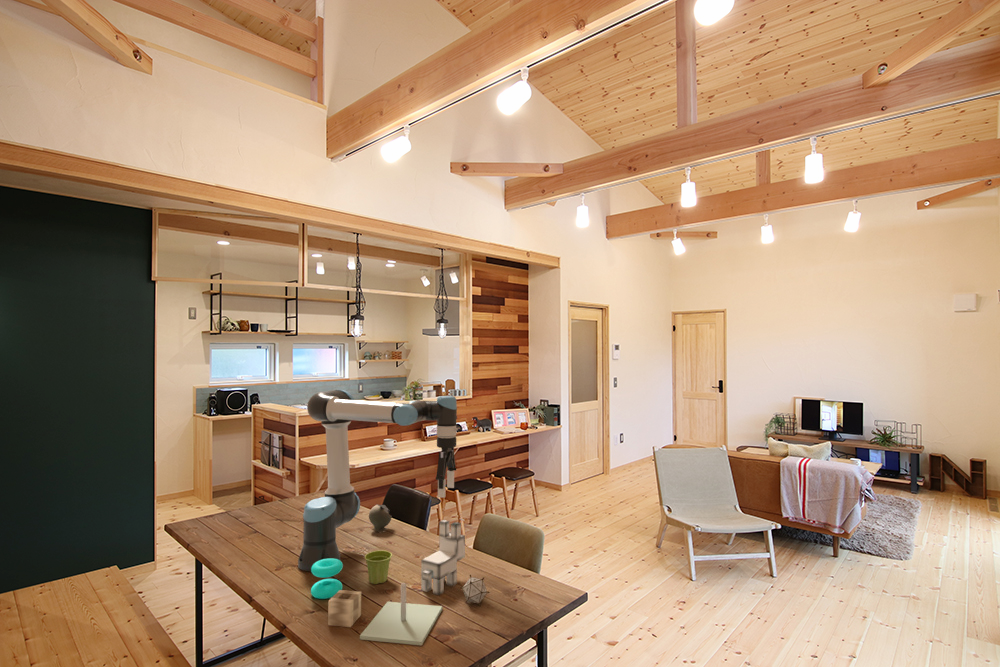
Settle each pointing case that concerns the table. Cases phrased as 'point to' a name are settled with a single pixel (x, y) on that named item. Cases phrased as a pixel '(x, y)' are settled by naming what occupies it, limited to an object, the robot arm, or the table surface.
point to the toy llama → (443, 559)
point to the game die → (474, 590)
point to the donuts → (326, 586)
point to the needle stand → (402, 622)
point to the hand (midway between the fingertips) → (446, 492)
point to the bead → (344, 608)
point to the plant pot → (378, 565)
